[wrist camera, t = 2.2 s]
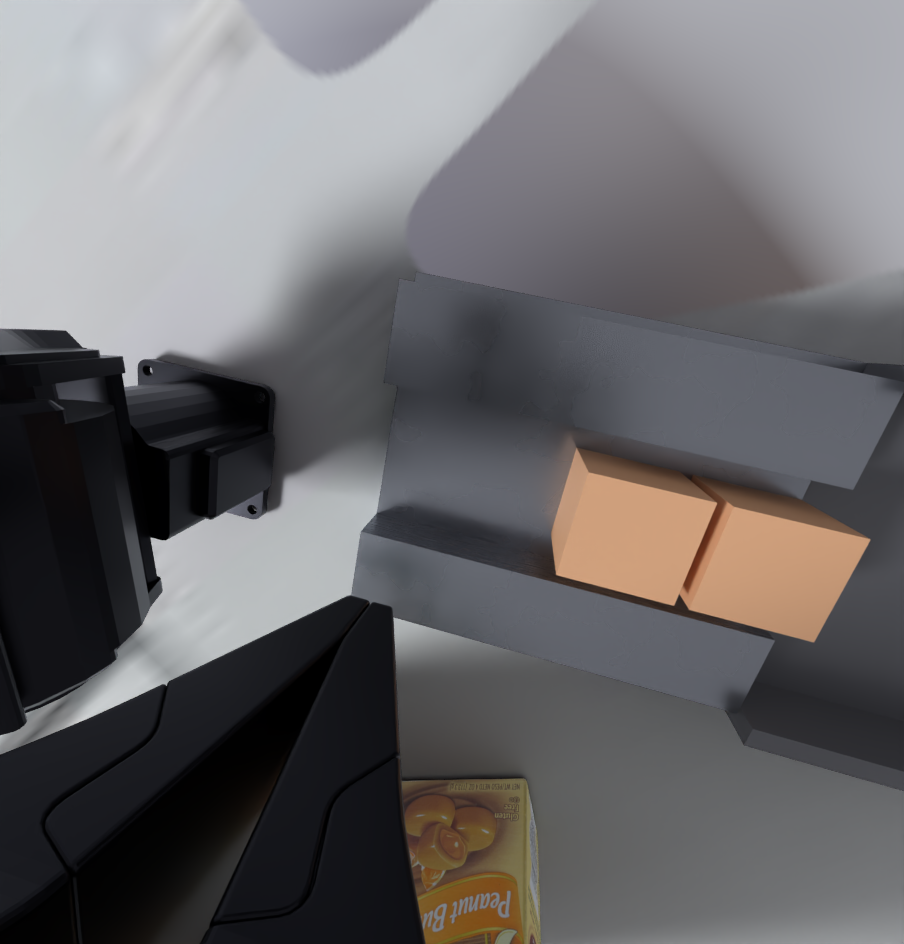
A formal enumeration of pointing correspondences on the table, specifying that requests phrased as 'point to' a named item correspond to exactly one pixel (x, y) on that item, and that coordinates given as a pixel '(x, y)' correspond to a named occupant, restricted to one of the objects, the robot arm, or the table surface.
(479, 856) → the candy box
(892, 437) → the tray
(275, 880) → the robot arm
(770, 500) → the tan cube
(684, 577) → the chip
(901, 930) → the table surface
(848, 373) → the slot board
